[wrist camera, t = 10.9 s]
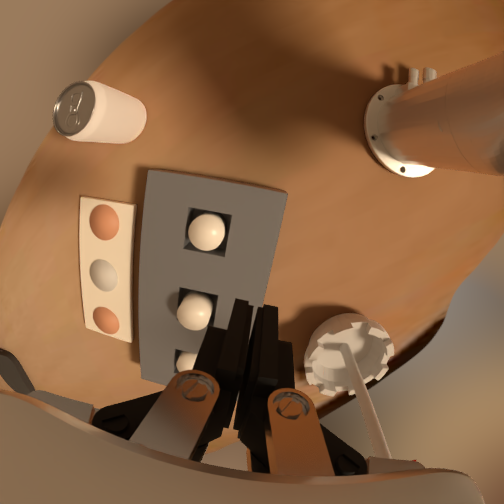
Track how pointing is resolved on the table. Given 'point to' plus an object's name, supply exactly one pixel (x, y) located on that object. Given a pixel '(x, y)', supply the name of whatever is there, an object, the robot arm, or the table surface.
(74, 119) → the can
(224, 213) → the button panel
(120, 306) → the pattern card
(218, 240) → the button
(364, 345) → the flag stand
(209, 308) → the middle button
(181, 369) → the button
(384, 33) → the table surface
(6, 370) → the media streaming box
